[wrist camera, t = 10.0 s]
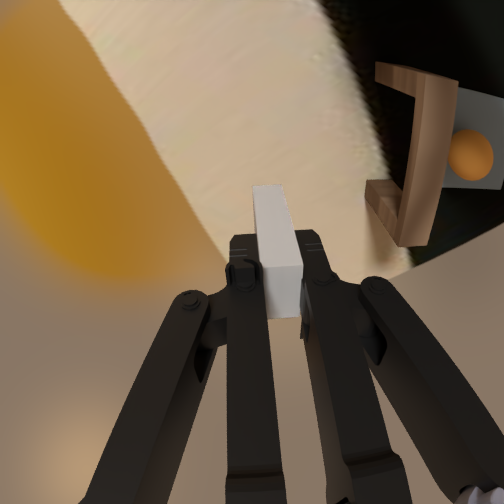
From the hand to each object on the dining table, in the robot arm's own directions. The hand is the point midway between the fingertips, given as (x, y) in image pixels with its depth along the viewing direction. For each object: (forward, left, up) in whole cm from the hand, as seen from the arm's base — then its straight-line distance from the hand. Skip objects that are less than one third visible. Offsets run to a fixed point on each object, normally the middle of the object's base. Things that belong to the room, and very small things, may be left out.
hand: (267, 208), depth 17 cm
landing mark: (0, +26, -14) cm, 30 cm away
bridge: (0, +13, -14) cm, 19 cm away
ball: (+1, +23, -12) cm, 25 cm away
